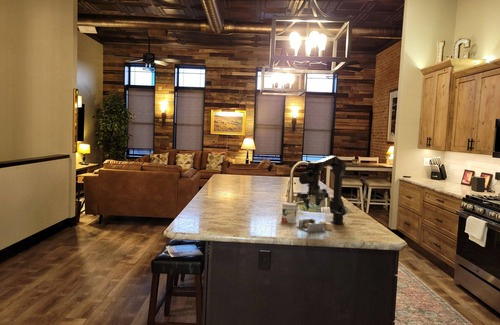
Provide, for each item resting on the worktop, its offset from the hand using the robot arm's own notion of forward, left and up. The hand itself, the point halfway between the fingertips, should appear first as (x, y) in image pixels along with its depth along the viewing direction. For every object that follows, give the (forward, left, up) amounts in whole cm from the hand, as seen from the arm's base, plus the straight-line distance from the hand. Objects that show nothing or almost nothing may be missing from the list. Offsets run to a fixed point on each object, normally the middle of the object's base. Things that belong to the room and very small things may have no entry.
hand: (312, 209), depth 219 cm
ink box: (-21, -3, -12) cm, 24 cm away
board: (0, 0, +1) cm, 1 cm away
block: (-1, +11, -12) cm, 16 cm away
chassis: (0, 0, -12) cm, 12 cm away
